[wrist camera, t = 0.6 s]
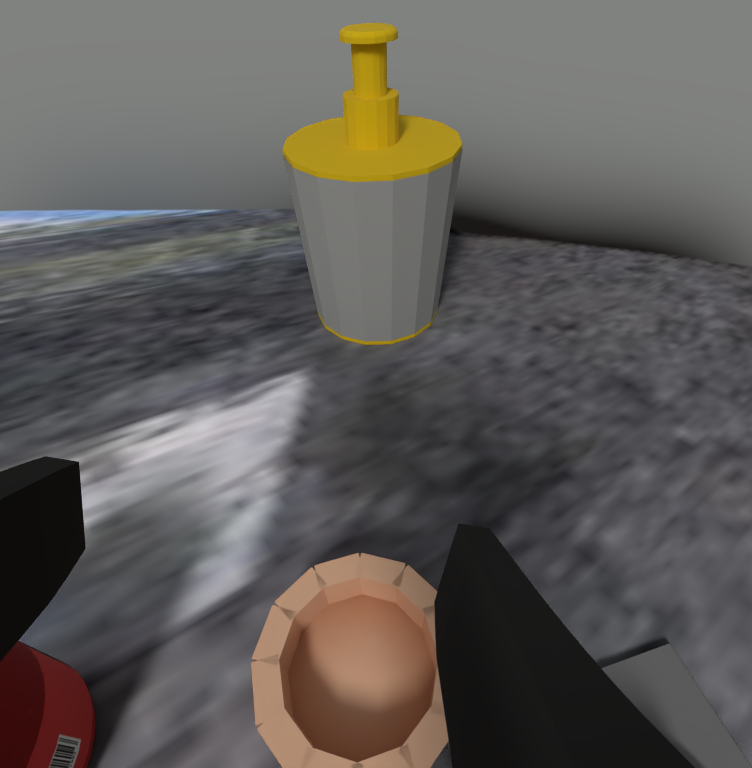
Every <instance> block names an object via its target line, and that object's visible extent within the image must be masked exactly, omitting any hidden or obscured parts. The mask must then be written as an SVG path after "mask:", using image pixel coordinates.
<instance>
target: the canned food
mask: <svg viewBox="0 0 752 768" xmlns="http://www.w3.org/2000/svg"><path fill="white" fill-rule="evenodd" d="M95 723H96V716H95V710H94V704H93V700H92V698H91V695H90V693H89V691H88V688H87V686H86V684H85V682H84V680H83V679H82V677H81V676H80V675H79V674H78V673H77V671H76V670H75V669H73V668H72V667H70V666H69V665H67V664H65V663H64V662H62V661H60V660H58V659H55V658H53V657H51V656H49V655H47V654H45V653H43V652H41V651H39V650H37V649H35V648H33V647H30V646H28V645H26V644H24V643H22V642H20V641H17V643H16V644H15V645H14V646H13V647H12V649H11V650H10V651H9V652H8V653H7V655H6V656H5V657H4V658H3V659H2V660H1V662H0V768H87V767H88V764H89V761H90V758H91V755H92V750H93V744H94V739H95Z"/></svg>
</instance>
